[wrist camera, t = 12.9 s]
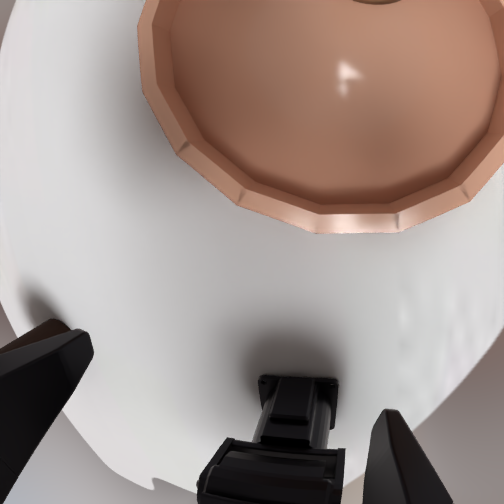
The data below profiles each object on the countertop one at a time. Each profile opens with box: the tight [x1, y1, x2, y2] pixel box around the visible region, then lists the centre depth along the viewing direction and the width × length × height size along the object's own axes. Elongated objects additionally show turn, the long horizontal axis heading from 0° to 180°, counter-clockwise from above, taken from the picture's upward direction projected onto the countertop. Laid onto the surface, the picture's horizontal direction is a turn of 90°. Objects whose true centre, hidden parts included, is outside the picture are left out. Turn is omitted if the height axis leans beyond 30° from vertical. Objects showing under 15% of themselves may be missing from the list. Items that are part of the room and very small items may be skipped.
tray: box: [137, 0, 504, 234], centre depth 13 cm, size 22×22×3 cm
